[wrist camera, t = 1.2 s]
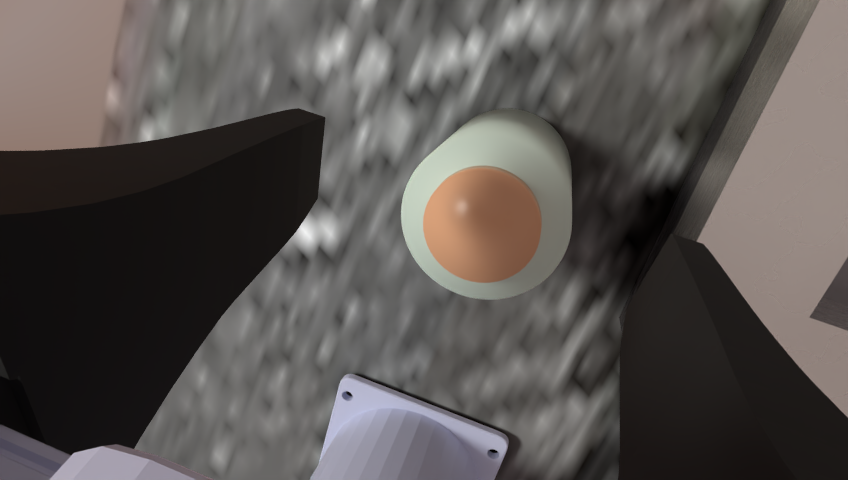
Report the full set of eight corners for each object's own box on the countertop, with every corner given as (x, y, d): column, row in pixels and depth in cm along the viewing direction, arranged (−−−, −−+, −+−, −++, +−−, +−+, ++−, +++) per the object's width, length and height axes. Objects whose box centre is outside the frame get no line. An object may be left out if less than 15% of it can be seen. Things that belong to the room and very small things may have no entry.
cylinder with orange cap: (545, 250, 22) (535, 332, 16) (429, 209, 23) (378, 274, 17) (591, 131, 20) (601, 174, 14) (464, 91, 21) (420, 115, 15)
